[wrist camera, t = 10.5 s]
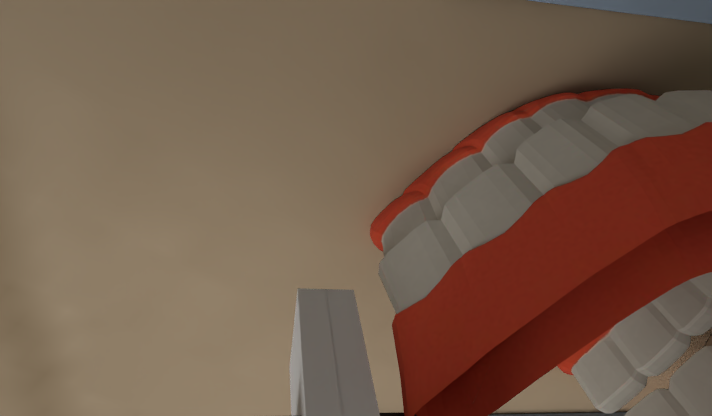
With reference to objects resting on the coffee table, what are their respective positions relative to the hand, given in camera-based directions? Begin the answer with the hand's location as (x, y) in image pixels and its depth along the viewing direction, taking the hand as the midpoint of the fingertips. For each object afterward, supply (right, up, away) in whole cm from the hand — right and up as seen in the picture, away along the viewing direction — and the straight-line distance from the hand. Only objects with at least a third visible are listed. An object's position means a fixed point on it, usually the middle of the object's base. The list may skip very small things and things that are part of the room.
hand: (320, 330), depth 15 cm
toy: (+9, +3, +4) cm, 10 cm away
